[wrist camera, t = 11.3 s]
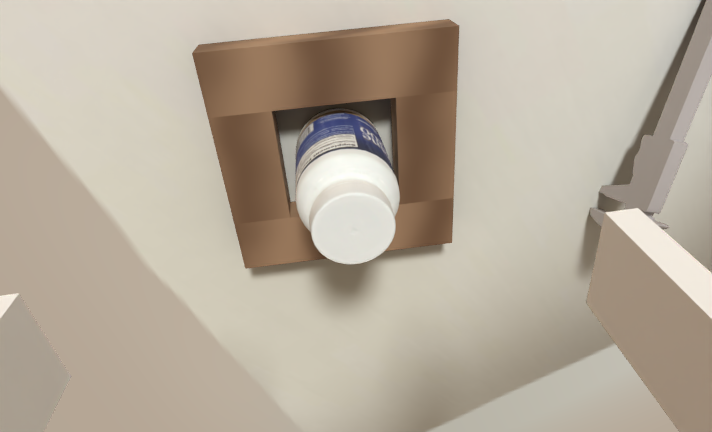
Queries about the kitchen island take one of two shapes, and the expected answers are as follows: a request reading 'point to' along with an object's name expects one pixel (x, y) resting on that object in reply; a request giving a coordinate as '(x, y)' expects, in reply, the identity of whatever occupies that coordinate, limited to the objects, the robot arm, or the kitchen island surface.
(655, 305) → the robot arm
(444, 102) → the holder block
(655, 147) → the caliper
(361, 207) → the pill bottle
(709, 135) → the kitchen island surface
